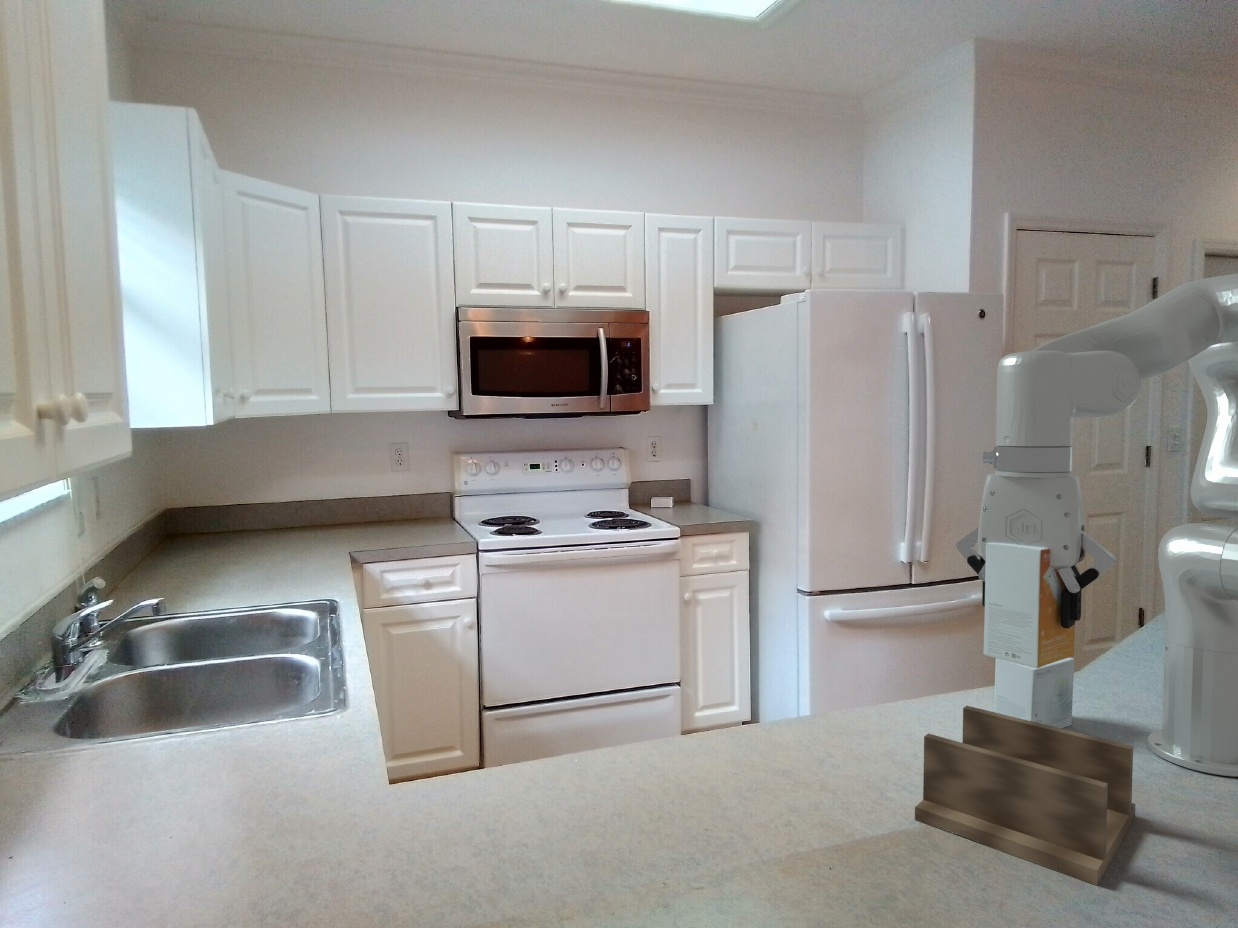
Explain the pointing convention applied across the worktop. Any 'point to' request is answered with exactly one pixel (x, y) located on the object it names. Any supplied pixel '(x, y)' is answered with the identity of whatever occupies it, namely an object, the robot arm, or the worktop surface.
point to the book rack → (1031, 791)
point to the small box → (1024, 607)
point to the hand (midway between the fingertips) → (1029, 618)
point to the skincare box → (1035, 692)
